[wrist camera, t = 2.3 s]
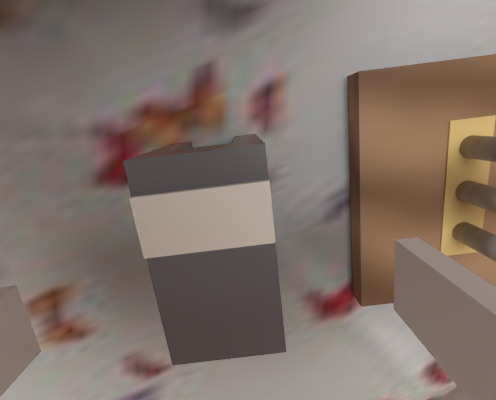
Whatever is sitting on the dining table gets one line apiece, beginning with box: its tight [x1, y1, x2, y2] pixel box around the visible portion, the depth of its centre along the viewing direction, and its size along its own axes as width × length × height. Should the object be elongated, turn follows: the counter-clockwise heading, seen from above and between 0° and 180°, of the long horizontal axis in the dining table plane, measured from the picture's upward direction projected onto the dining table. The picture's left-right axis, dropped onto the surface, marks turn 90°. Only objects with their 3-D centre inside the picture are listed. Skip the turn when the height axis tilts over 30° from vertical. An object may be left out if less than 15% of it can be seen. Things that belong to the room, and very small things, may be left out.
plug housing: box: [123, 134, 286, 365], centre depth 14 cm, size 9×5×7 cm, turn 7°
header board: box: [348, 54, 496, 307], centre depth 15 cm, size 14×12×6 cm
